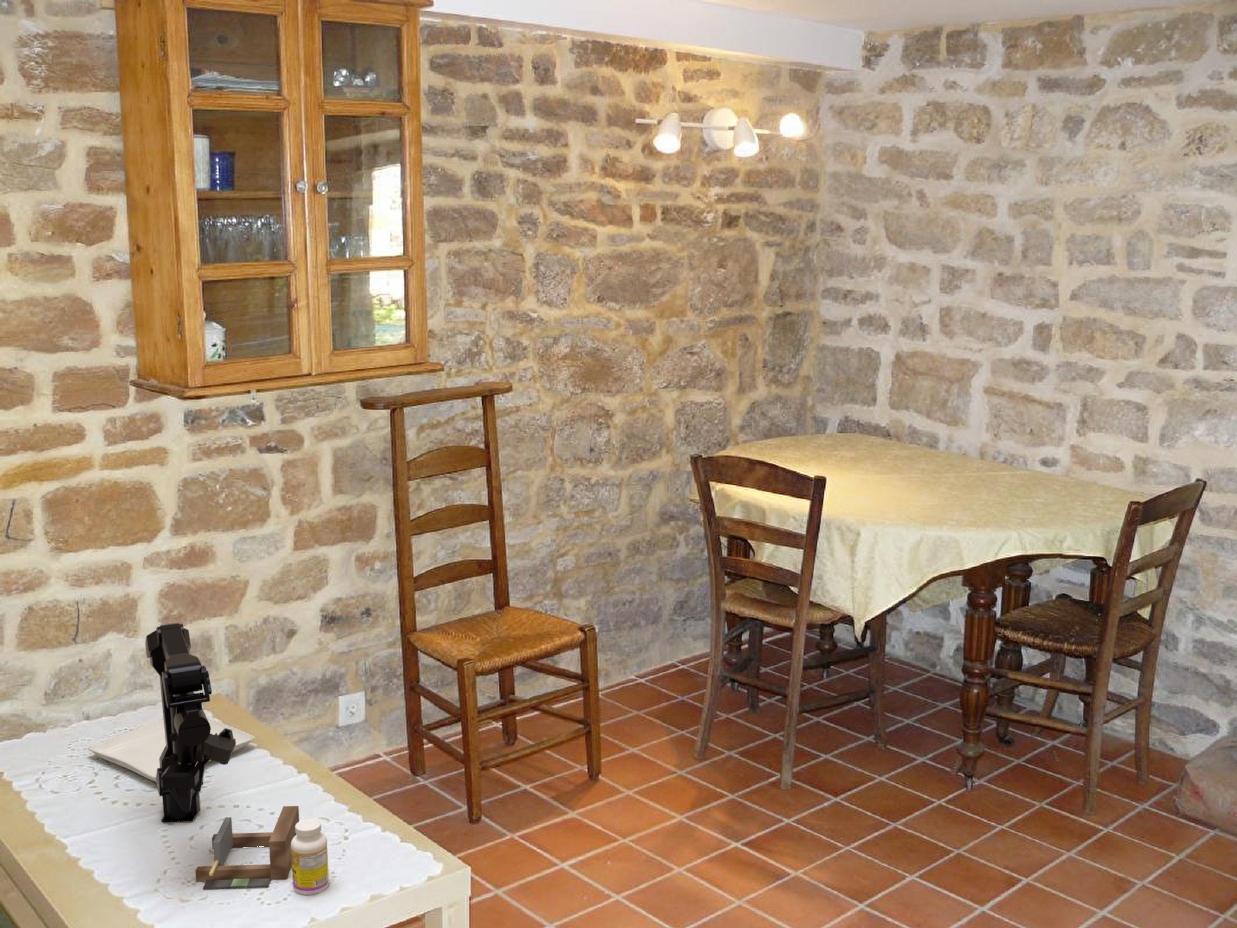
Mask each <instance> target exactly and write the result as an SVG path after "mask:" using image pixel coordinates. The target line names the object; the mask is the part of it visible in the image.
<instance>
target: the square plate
mask: <svg viewBox="0 0 1237 928" xmlns="http://www.w3.org/2000/svg"><path fill="white" fill-rule="evenodd" d="M207 719H208V722H209V724H210V727H211V731H210V734H213V735H215V733H218V734H217V735H219V733H220V732H221V731H223V730H224V729H225V728H227V729H230V730H232V733H233V739H236V740H235V741H236V745H235V747H234V750H233V753H234V752H235V751H238V750H240V749H242V748H244V747H245V746H247V745H249V744H250V743H251V742H252V741H253V740H254V739H256V736H255V735H252V734H251V733H247V732H245V731H243V730H240V729H239V728H235V727H233V726H231V725H229V724H226V723H223V722H220V721H219V720H218V721H217V720H215V719H213V718H210V717H207ZM165 746H166V740H165V729H164V718H161V719H159V720H156V721H153V722H150V723H147V724H145V725H142V726H140V727H137V728H134V729H132V730H129V731H126V732H123V733H122V734H118V735H116V736H113V737H112V738H108V739H106V740H104V741H101V742H98V743H97V744H93V745H92V746H89V747H88V748H87V750H88V751H90V752H92V753H93V755H96V756H97V757H99V758H101V759H102V760H106V761H108V762H110V763H112V764H116V765H118V766H121V767H123V768H125V769H128V770H130V771H132V772H134V773H136V774H139V775H140V776H142V777H144V778H146V779H148V780H151V781H153V782H155V783H156V774H157V768H160V762H159V758H160V756H161V754H162V752H163V750H164V748H165ZM212 761H213V760H209V761H208V762H207V763H209V762H212Z"/></svg>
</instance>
